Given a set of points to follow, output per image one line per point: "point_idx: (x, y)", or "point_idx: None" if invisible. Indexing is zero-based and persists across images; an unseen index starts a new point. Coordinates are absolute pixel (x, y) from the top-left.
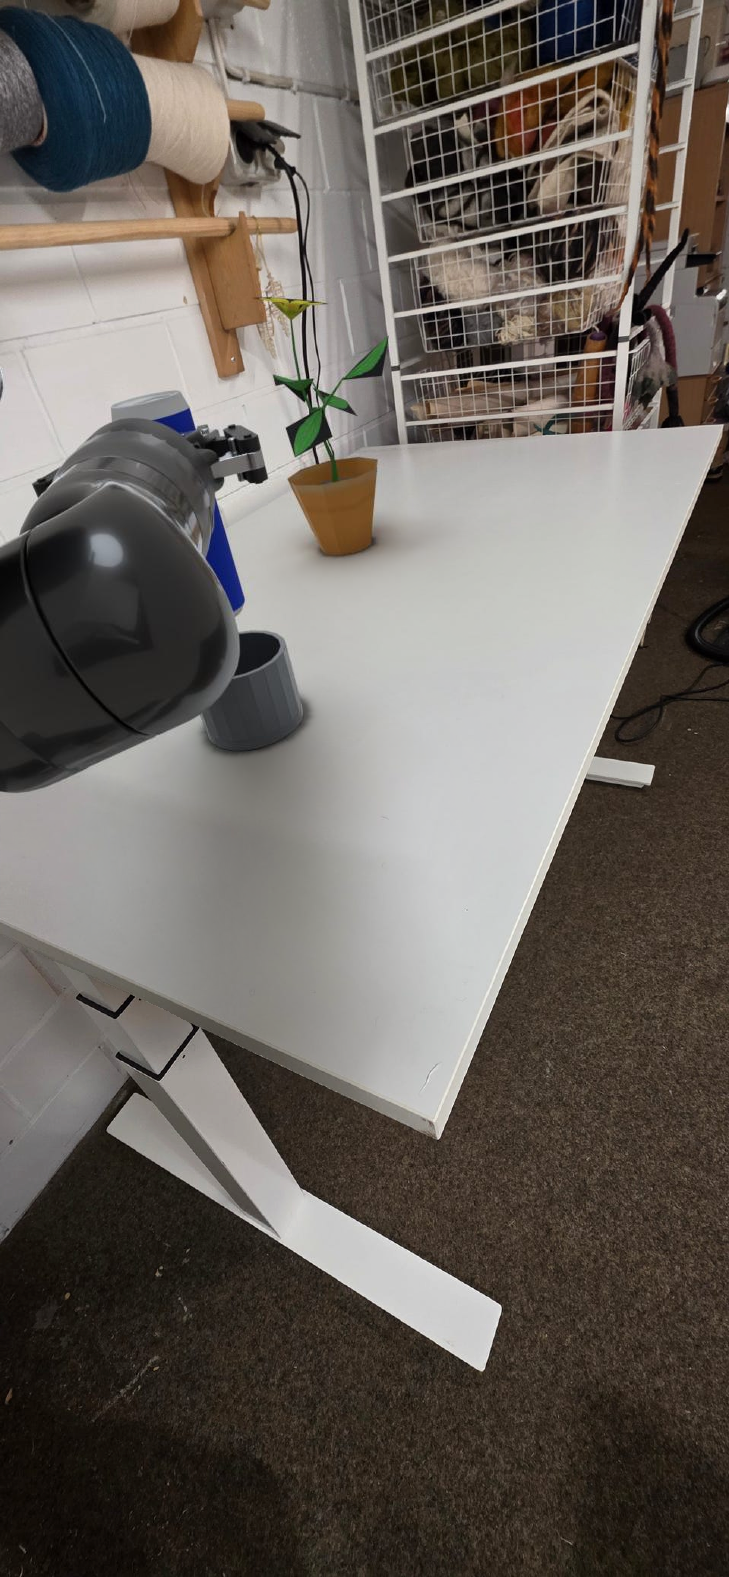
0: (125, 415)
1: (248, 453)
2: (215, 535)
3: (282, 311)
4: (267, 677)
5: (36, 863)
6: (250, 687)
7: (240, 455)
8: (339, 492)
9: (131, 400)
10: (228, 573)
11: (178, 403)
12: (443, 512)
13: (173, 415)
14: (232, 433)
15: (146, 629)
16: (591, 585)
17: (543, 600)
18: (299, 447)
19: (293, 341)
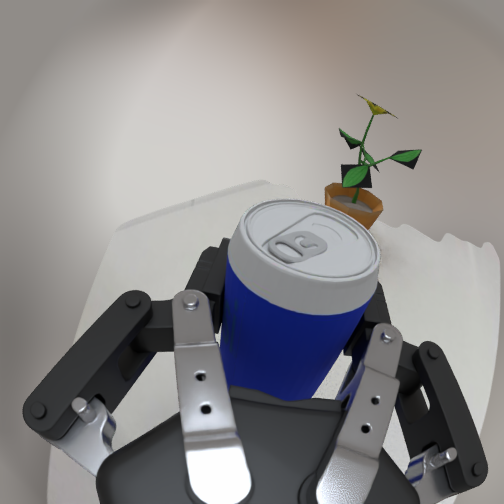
0: (265, 279)
1: (458, 492)
2: None
3: (370, 108)
4: None
5: (61, 480)
6: None
7: (447, 495)
8: (357, 215)
9: (279, 204)
10: None
11: (375, 280)
12: (397, 238)
13: (359, 307)
14: (446, 408)
15: None
16: (473, 360)
17: (452, 365)
18: (347, 182)
19: (369, 125)
